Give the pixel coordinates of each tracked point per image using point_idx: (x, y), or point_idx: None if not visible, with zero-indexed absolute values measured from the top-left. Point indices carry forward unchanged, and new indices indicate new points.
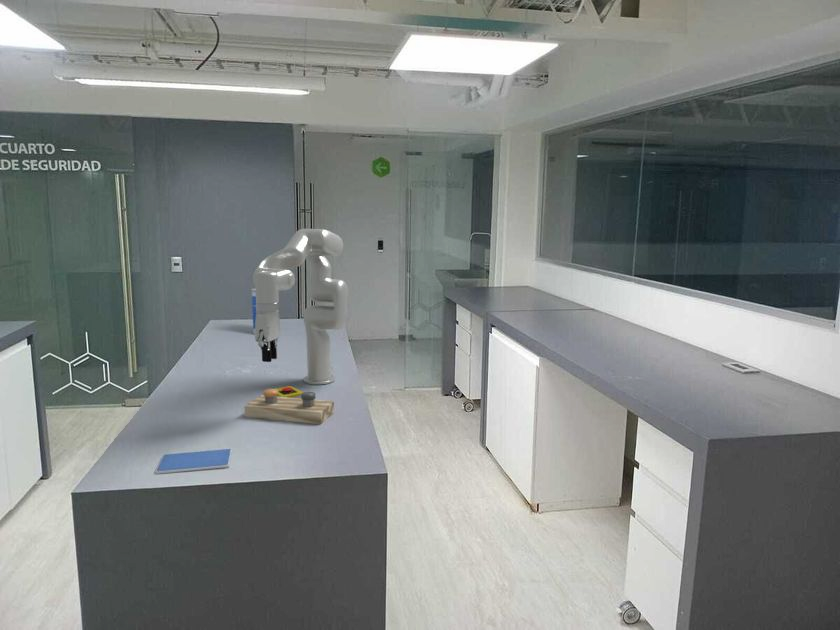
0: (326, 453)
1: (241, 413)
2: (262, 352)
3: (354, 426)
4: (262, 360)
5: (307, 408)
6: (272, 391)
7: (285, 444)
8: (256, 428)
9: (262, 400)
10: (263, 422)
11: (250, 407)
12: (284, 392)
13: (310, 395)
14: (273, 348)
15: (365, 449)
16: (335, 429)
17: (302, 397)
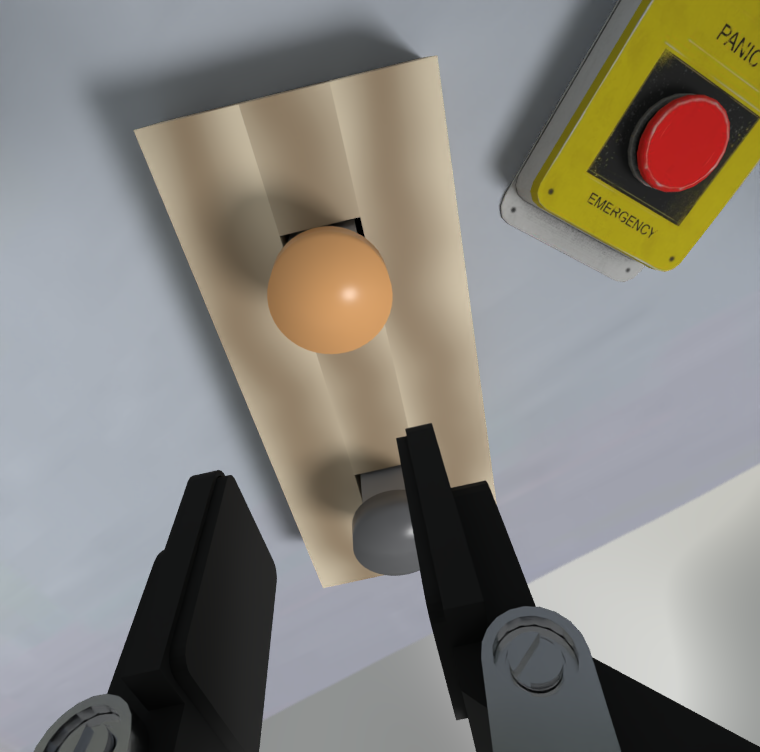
0: (99, 683)
1: (199, 31)
2: (150, 626)
3: (366, 632)
4: (191, 484)
5: (340, 515)
6: (323, 322)
7: (44, 560)
8: (74, 340)
9: (322, 179)
10: (170, 311)
11: (161, 187)
12: (633, 145)
13: (379, 566)
14: (452, 700)
15: None
16: (301, 604)
17: (354, 526)
